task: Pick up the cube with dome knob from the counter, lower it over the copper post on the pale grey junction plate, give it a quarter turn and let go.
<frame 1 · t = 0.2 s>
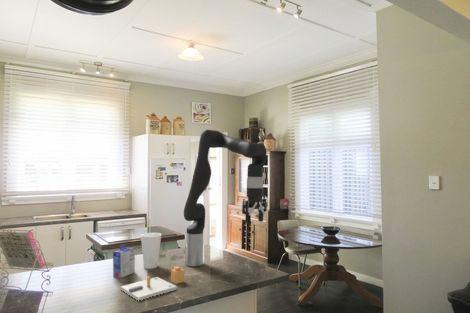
hand: (254, 222, 148), 29 cm above the kitchen island, tool pointing down, fingers open, 8 cm apart
junction plate: (148, 289, 142), on the kitchen island
cube with dome knob: (177, 281, 152), on the kitchen island
ink cartridge box: (123, 275, 161), on the kitchen island
cup: (150, 267, 174), on the kitchen island
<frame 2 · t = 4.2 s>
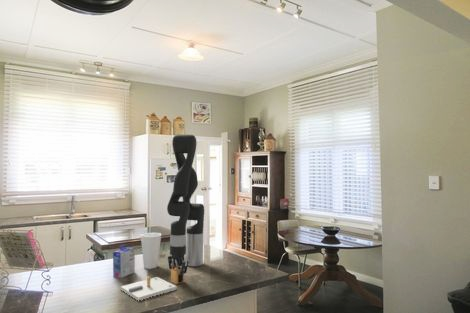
hand: (177, 280, 152), 1 cm above the kitchen island, tool pointing down, fingers closed on cube with dome knob, 4 cm apart
cube with dome knob: (177, 281, 152), on the kitchen island, touching gripper
everything else where it was.
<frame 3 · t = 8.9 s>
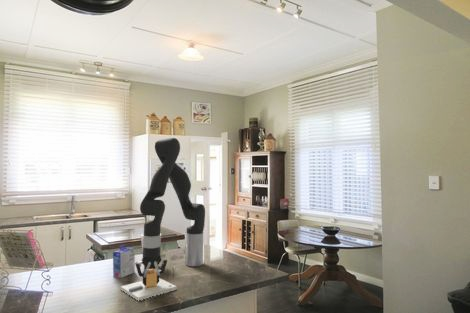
hand: (150, 284, 143), 2 cm above the kitchen island, tool pointing down, fingers closed on cube with dome knob, 4 cm apart
cube with dome knob: (150, 284, 143), point 2 cm above the kitchen island, touching gripper
everything else where it was.
when the fingers open (2 cm above the kitchen island, at t = 10.0 s): cube with dome knob stays where it is, resting on junction plate.
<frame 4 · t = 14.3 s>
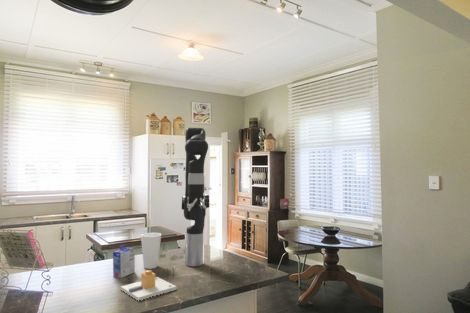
hand: (195, 218, 150), 30 cm above the kitchen island, tool pointing down, fingers open, 8 cm apart
cube with dome knob: (148, 286, 142), point 1 cm above the kitchen island, touching junction plate
everything else where it was.
at the end: cube with dome knob 0.4 cm off-centre on the junction plate, point 1.5 cm above the junction plate's base; cube with dome knob tilted 0°; the gripper is holding nothing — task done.
